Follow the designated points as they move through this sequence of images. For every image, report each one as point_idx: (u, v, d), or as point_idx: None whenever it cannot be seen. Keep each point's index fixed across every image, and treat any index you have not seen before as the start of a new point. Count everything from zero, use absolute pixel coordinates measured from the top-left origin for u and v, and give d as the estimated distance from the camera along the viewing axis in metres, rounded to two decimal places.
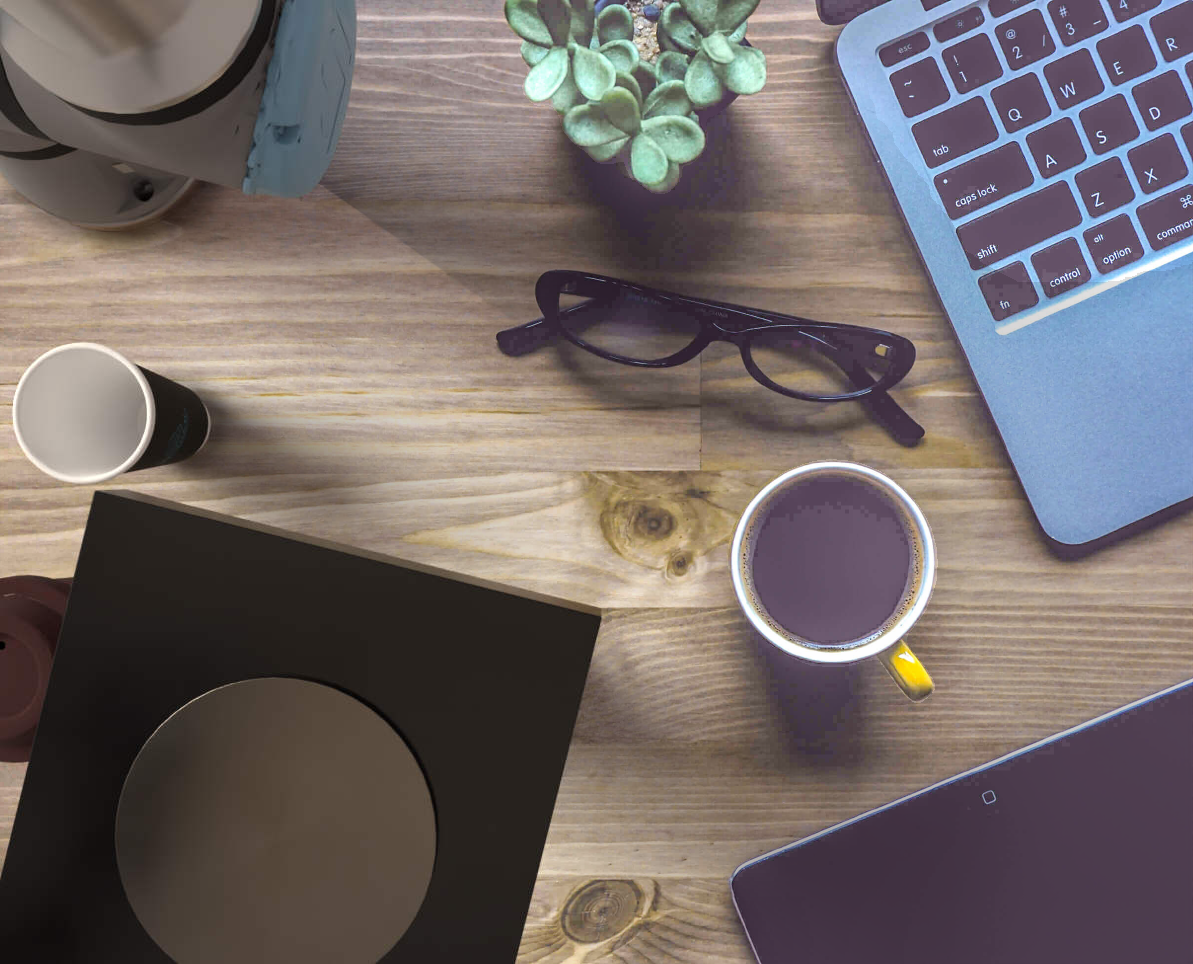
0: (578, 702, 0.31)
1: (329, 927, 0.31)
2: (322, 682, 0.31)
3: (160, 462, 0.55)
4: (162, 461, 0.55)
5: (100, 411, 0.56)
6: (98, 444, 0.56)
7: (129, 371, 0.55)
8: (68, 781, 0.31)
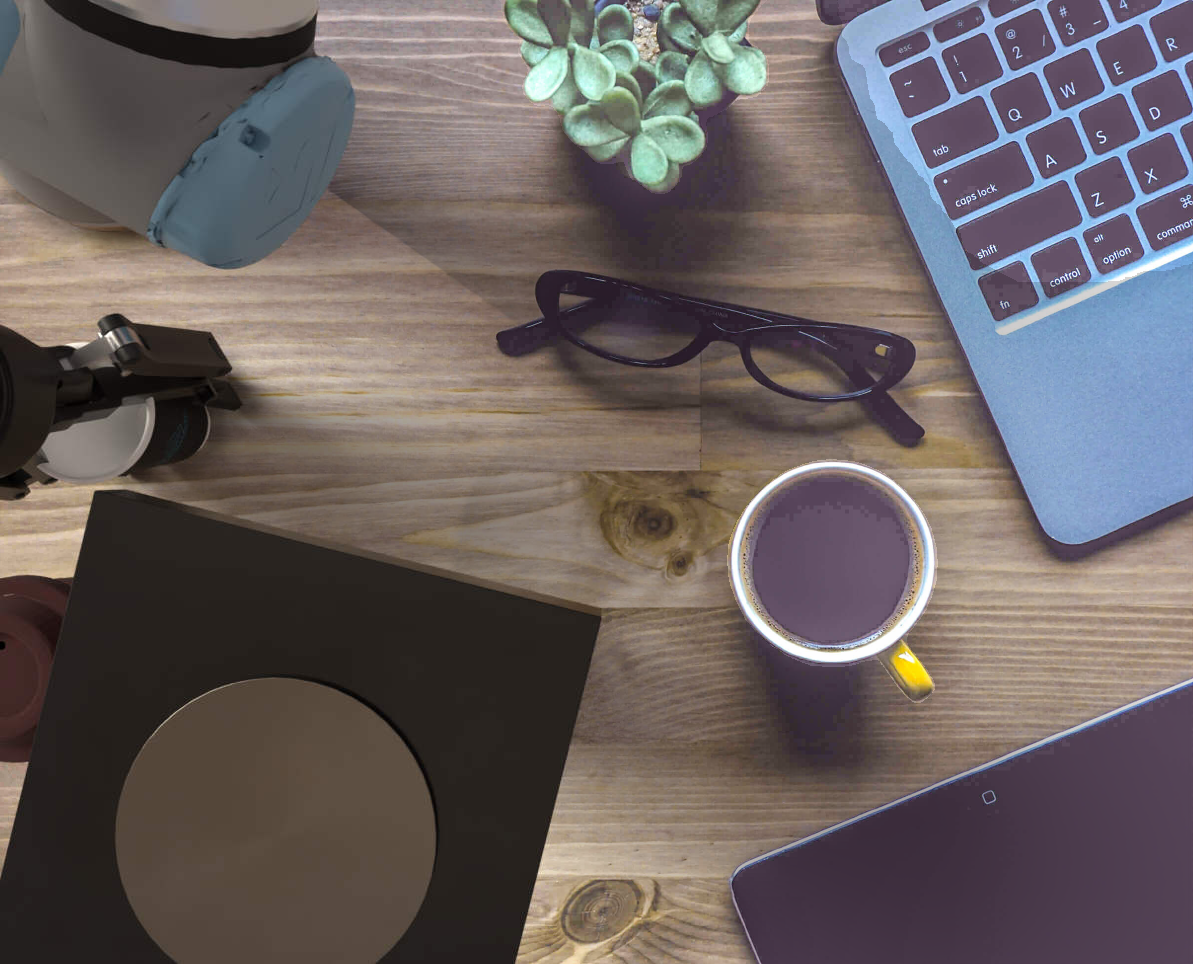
0: (578, 702, 0.31)
1: (329, 927, 0.31)
2: (322, 682, 0.31)
3: (160, 462, 0.55)
4: (162, 461, 0.55)
5: None
6: (98, 444, 0.56)
7: None
8: (68, 781, 0.31)
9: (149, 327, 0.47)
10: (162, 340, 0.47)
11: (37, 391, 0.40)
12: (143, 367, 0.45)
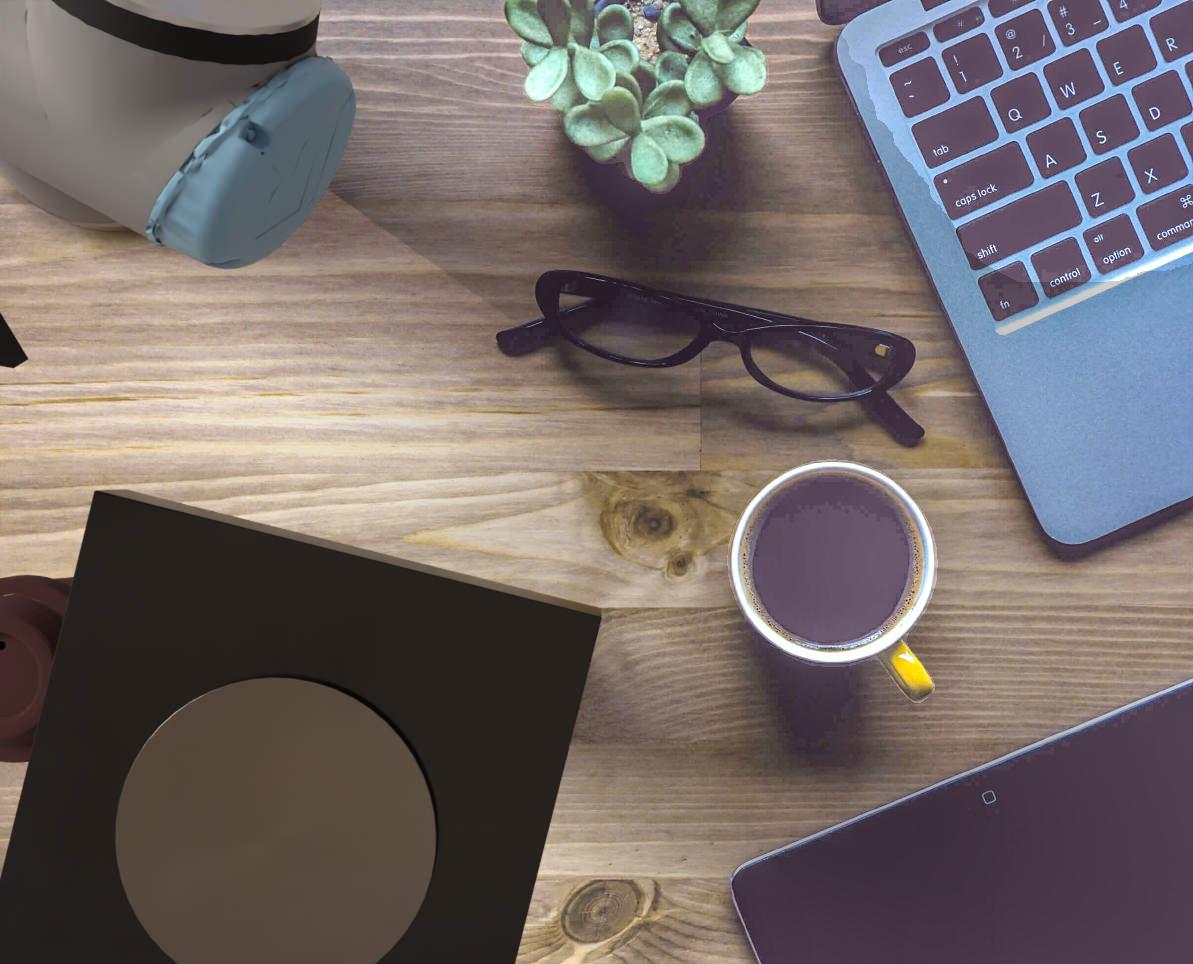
0: (578, 702, 0.31)
1: (329, 927, 0.31)
2: (322, 682, 0.31)
3: None
4: None
5: None
6: None
7: None
8: (68, 781, 0.31)
9: None
10: None
11: None
12: None
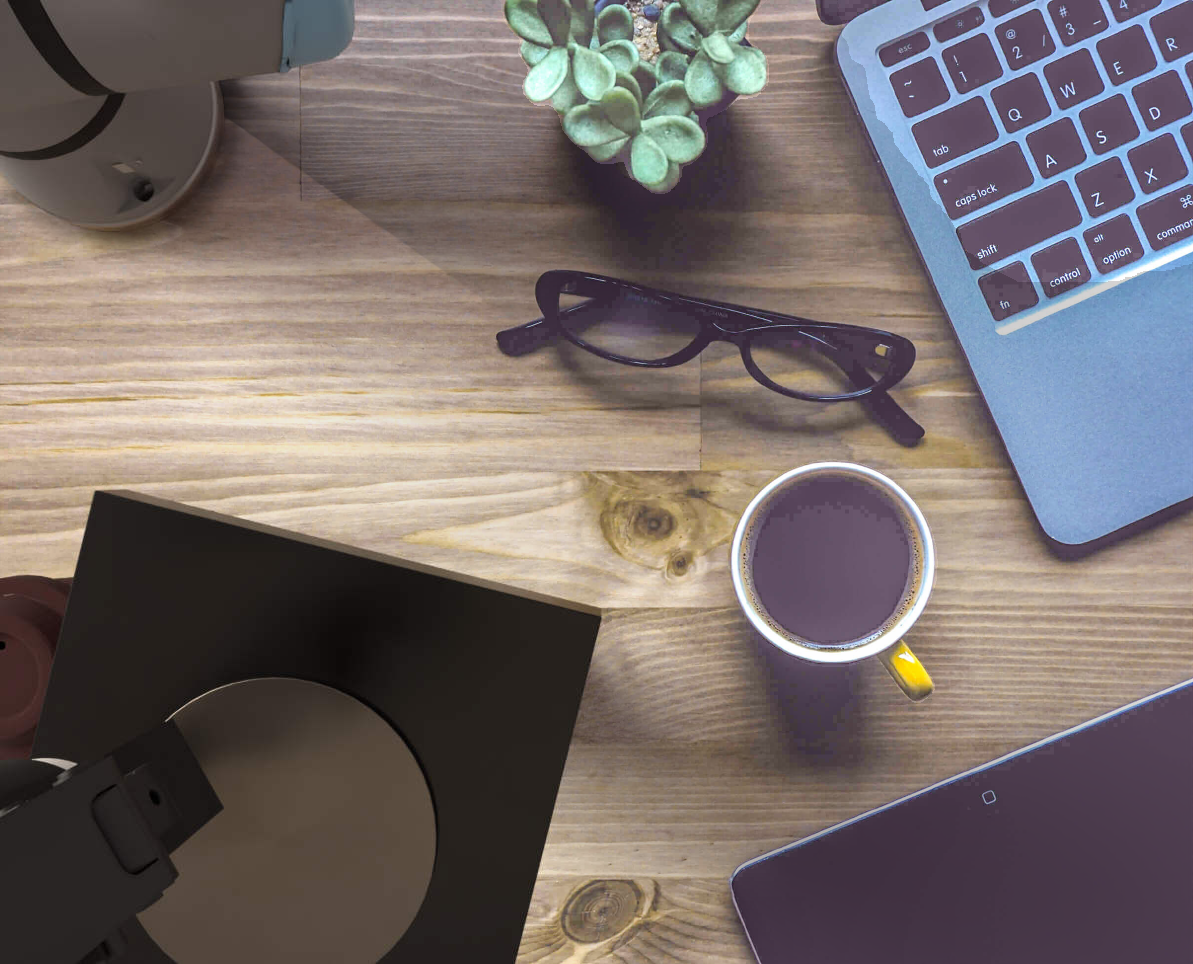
0: (578, 702, 0.31)
1: (329, 927, 0.31)
2: (322, 682, 0.31)
3: None
4: None
5: None
6: None
7: None
8: None
9: None
10: None
11: None
12: None
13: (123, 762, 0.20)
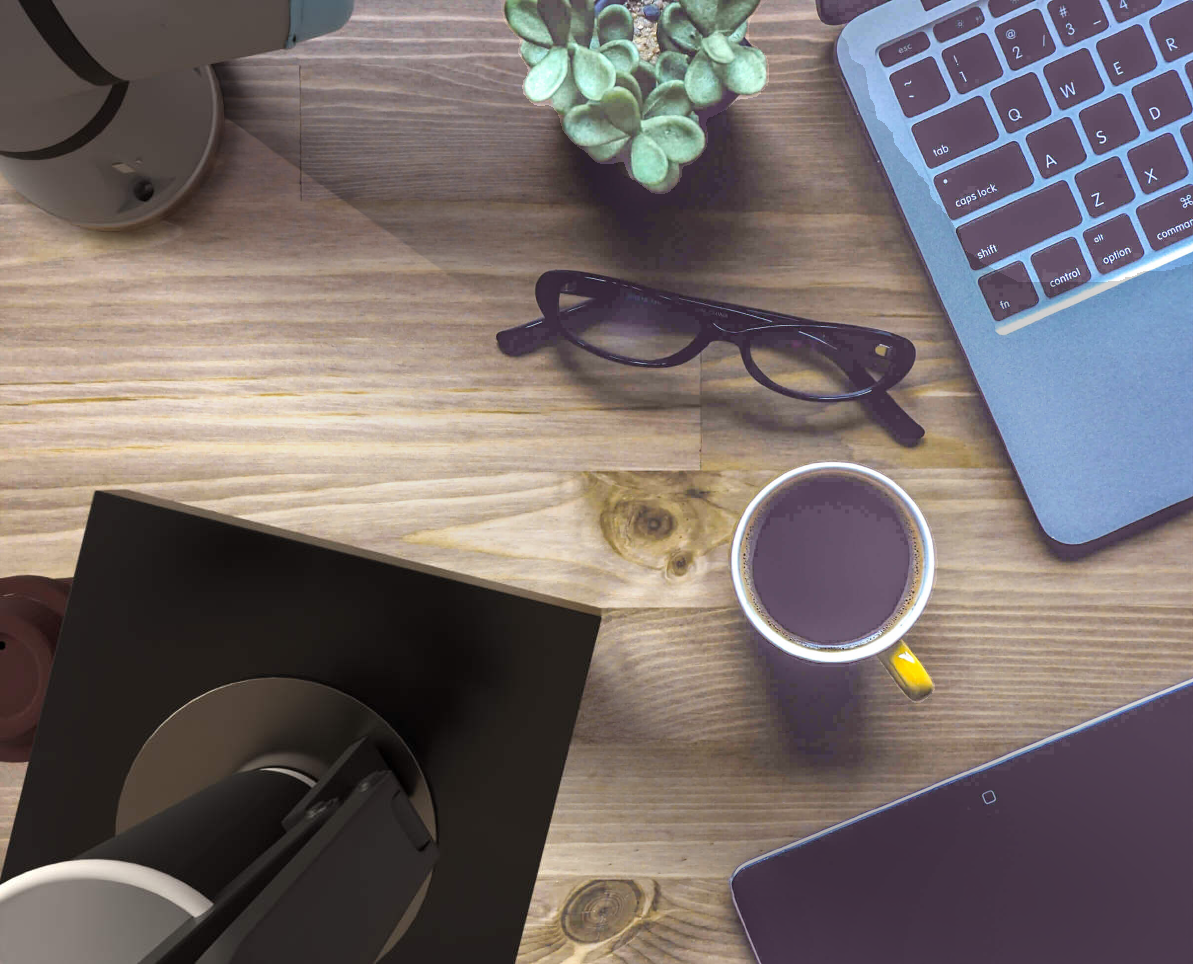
0: (578, 702, 0.31)
1: None
2: (322, 682, 0.31)
3: None
4: None
5: None
6: (123, 961, 0.26)
7: None
8: (68, 781, 0.31)
9: (281, 911, 0.17)
10: (313, 931, 0.17)
11: None
12: None
13: (352, 771, 0.27)
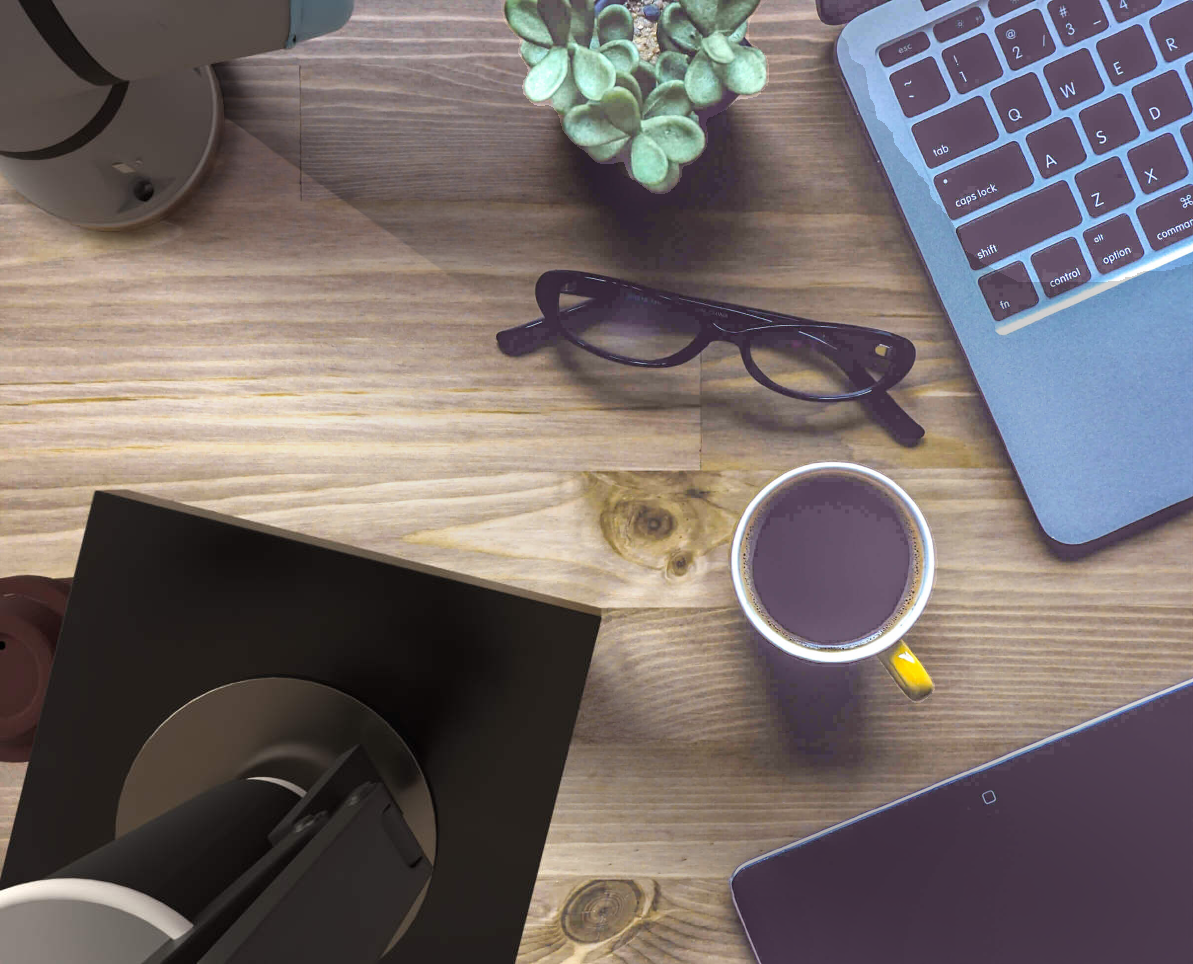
0: (578, 702, 0.31)
1: None
2: (322, 682, 0.31)
3: None
4: None
5: None
6: None
7: None
8: (68, 781, 0.31)
9: (261, 937, 0.16)
10: (296, 958, 0.16)
11: None
12: None
13: (342, 781, 0.26)
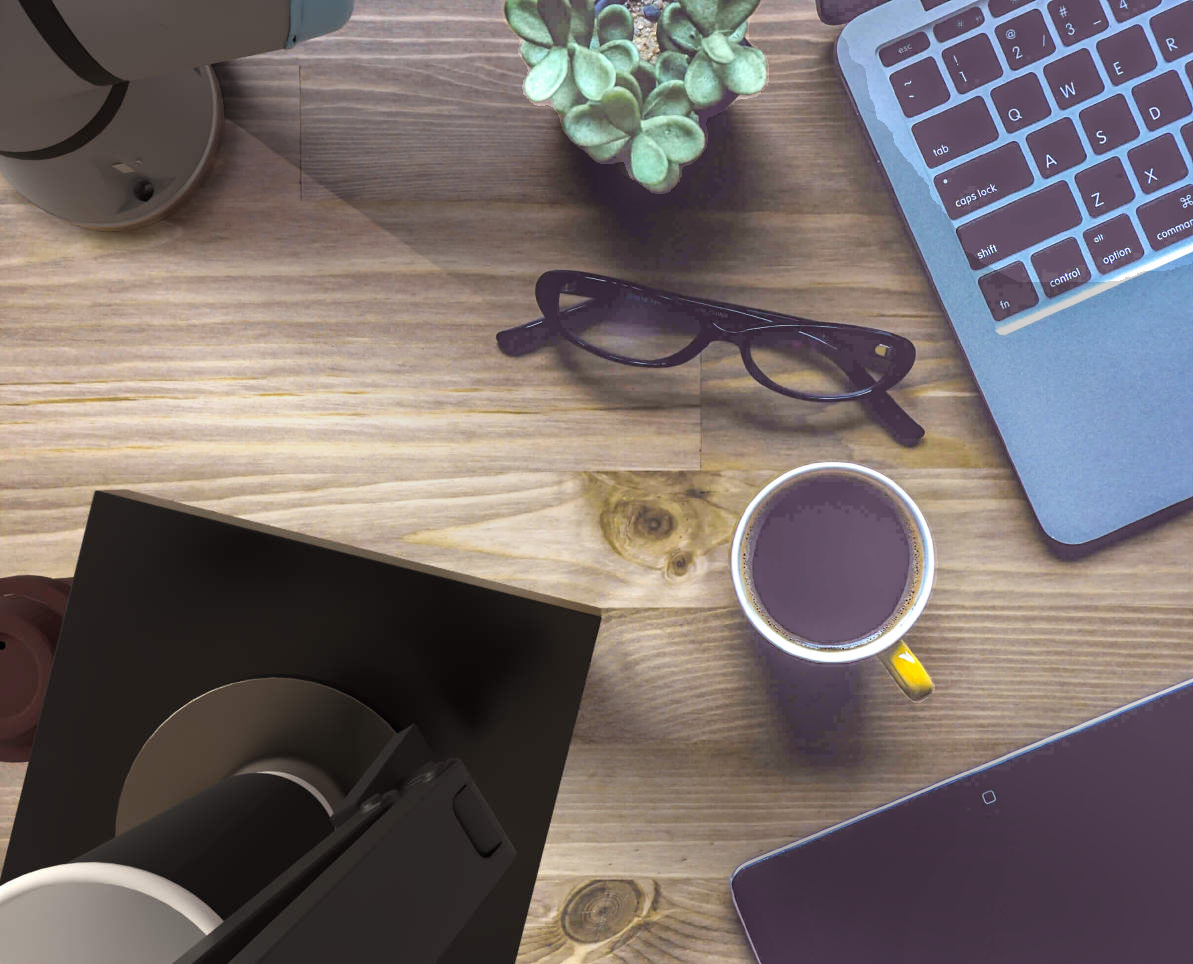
0: (578, 702, 0.31)
1: None
2: (322, 682, 0.31)
3: None
4: None
5: None
6: None
7: None
8: (68, 781, 0.31)
9: (271, 963, 0.14)
10: None
11: None
12: None
13: (401, 762, 0.25)
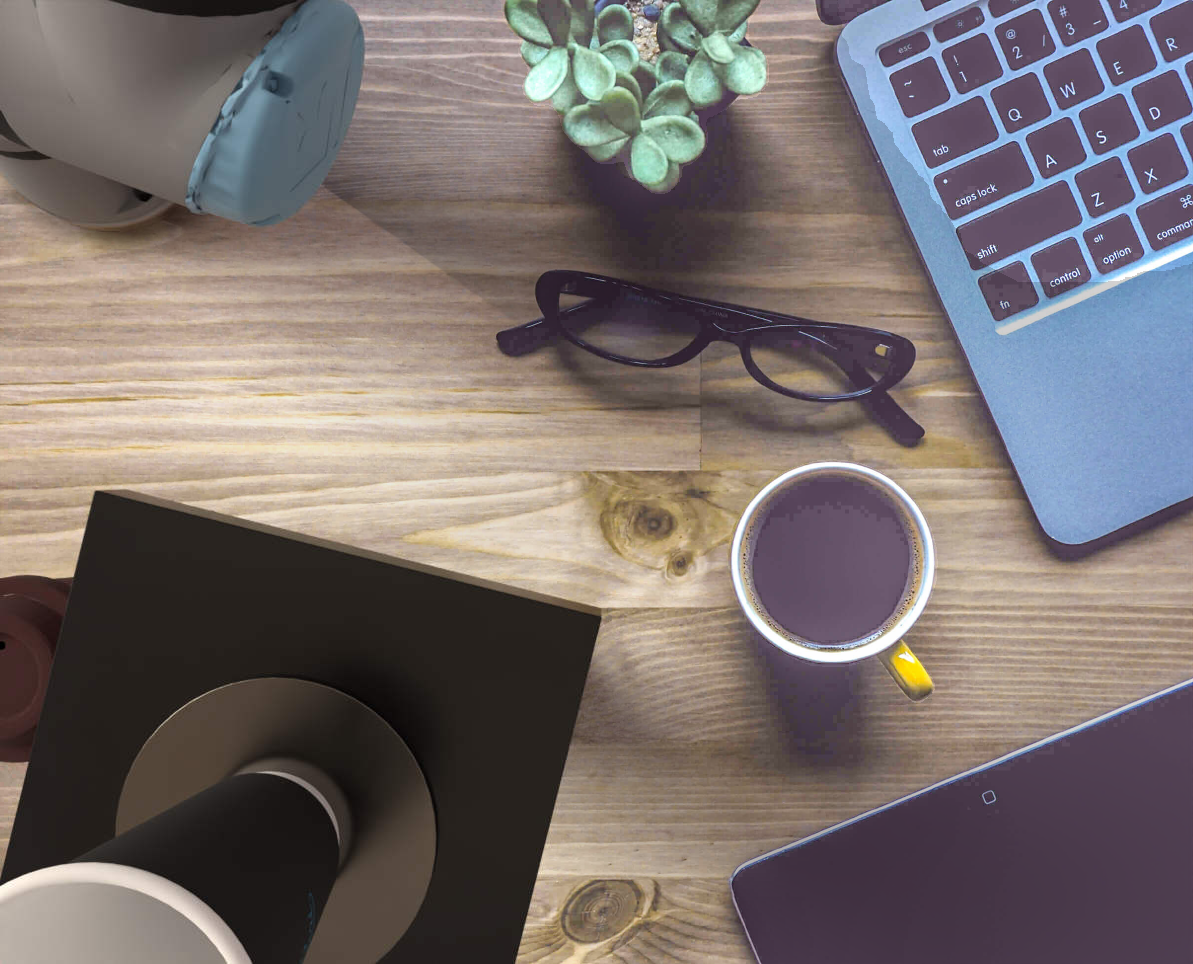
0: (578, 702, 0.31)
1: (329, 927, 0.31)
2: (322, 682, 0.31)
3: None
4: None
5: None
6: None
7: None
8: (68, 781, 0.31)
9: None
10: None
11: None
12: None
13: None
